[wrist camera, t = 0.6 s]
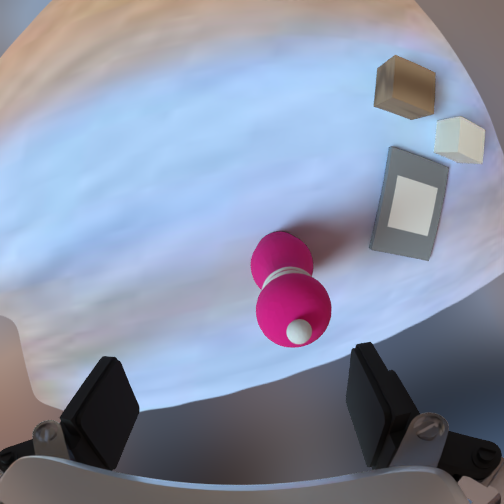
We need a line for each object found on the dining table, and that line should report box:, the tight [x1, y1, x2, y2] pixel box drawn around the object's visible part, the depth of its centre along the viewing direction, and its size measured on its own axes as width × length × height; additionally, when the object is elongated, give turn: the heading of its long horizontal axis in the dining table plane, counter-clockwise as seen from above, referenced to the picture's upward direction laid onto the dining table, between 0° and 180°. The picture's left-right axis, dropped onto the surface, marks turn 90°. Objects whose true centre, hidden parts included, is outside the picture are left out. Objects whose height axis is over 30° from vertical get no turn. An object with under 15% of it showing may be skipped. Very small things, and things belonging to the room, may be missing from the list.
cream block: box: [434, 116, 485, 164], centre depth 30 cm, size 5×5×6 cm
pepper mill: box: [251, 232, 331, 347], centre depth 28 cm, size 7×7×20 cm
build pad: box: [369, 147, 449, 261], centre depth 35 cm, size 14×10×1 cm
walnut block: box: [374, 55, 435, 120], centre depth 29 cm, size 6×6×6 cm
